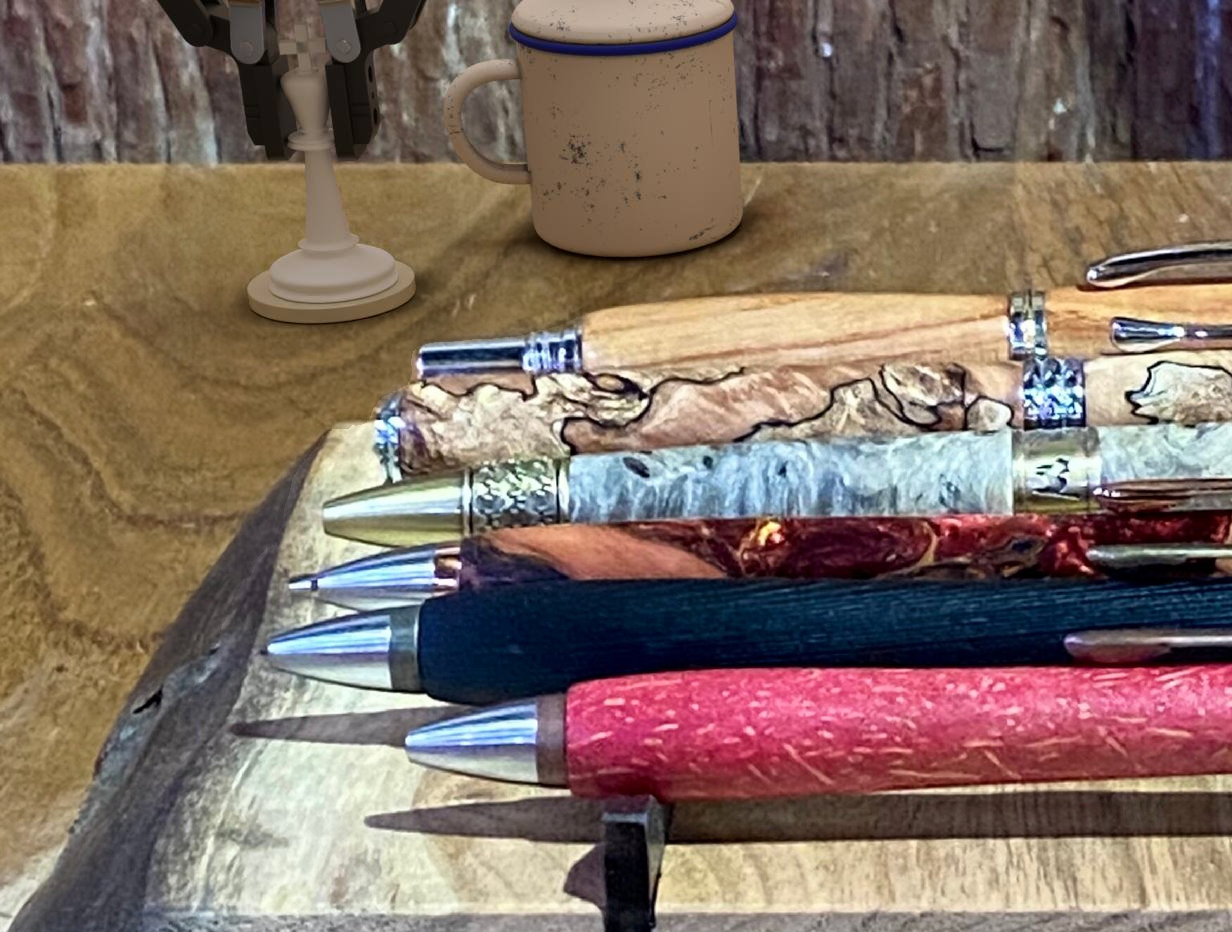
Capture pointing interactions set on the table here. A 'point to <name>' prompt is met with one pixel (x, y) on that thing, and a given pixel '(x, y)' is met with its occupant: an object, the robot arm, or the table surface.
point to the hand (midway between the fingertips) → (318, 152)
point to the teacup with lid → (619, 123)
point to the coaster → (330, 312)
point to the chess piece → (322, 200)
